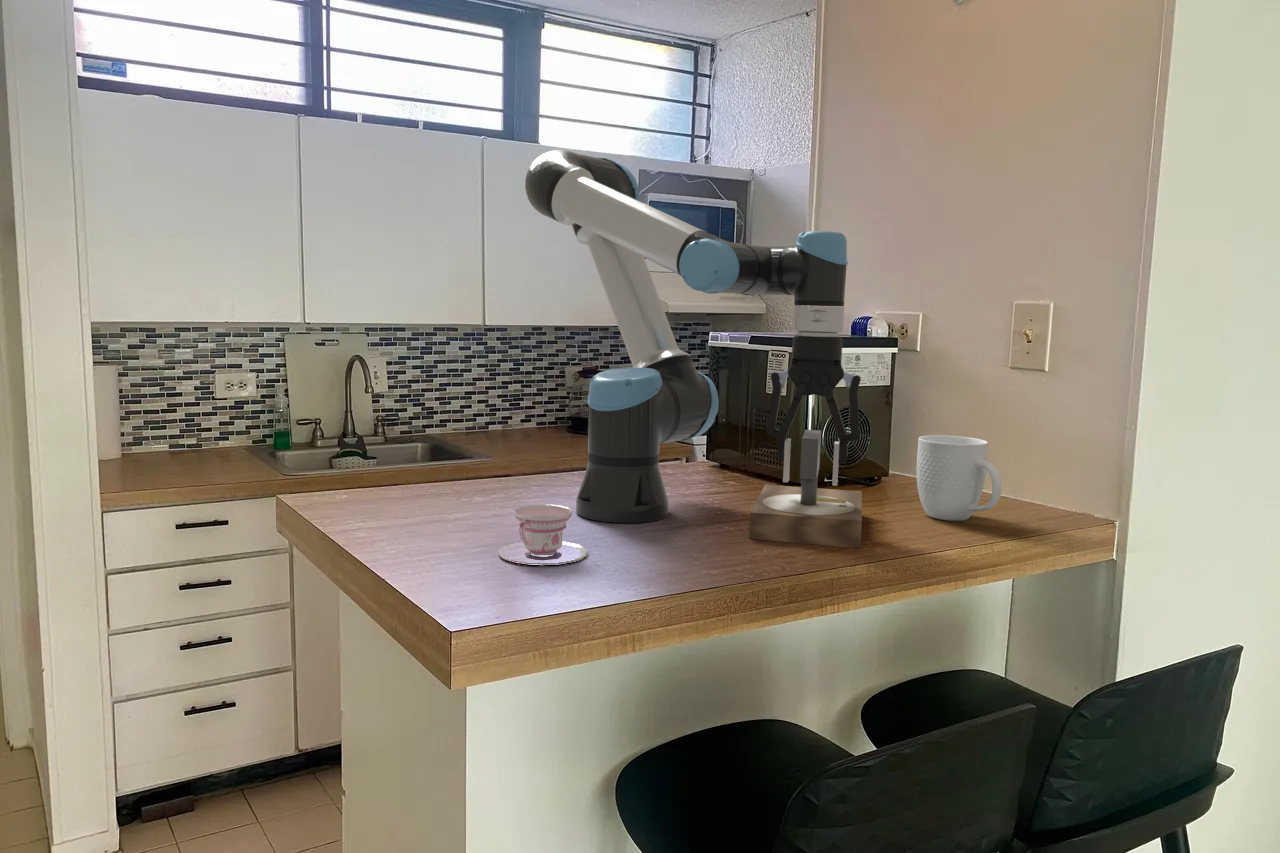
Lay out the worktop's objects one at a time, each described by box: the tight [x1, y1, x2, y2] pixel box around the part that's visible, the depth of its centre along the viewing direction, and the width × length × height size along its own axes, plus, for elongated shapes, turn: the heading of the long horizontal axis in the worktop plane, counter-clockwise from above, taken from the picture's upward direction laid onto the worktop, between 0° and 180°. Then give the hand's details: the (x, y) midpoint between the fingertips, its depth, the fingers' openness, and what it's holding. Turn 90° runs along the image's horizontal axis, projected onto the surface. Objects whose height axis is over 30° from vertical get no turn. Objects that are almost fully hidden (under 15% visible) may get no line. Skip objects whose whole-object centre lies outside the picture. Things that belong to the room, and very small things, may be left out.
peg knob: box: [799, 429, 846, 505], centre depth 138 cm, size 7×10×11 cm
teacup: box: [498, 503, 589, 566], centre depth 122 cm, size 12×12×6 cm
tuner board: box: [748, 484, 863, 549], centre depth 142 cm, size 16×22×4 cm
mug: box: [915, 434, 1002, 522], centre depth 149 cm, size 15×11×13 cm
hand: (810, 482), depth 141 cm, fingers open, 7 cm apart
